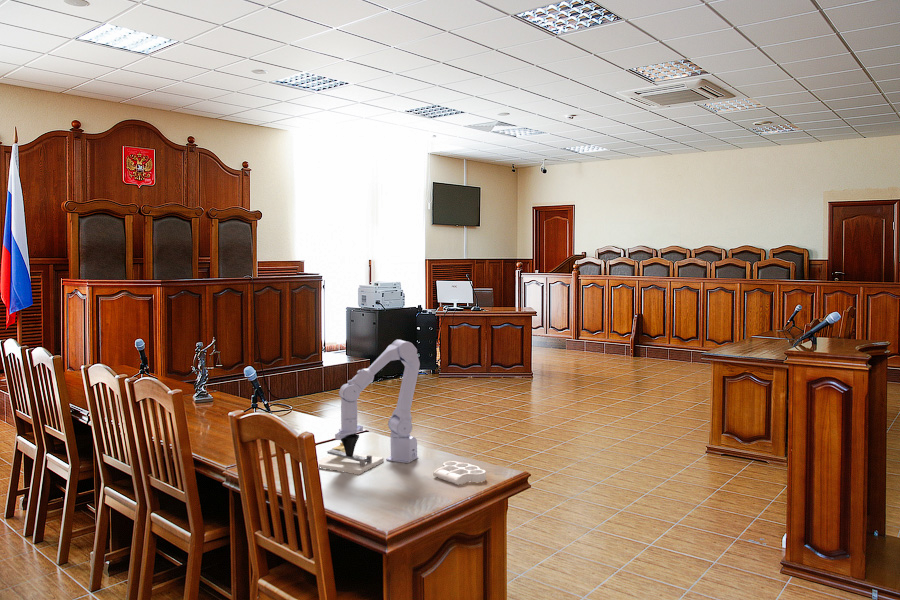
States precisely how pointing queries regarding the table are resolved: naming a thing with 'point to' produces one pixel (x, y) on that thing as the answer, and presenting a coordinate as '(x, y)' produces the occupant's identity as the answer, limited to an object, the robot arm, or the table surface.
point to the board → (349, 463)
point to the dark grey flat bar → (343, 454)
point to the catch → (339, 447)
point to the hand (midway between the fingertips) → (349, 455)
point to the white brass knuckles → (460, 472)
